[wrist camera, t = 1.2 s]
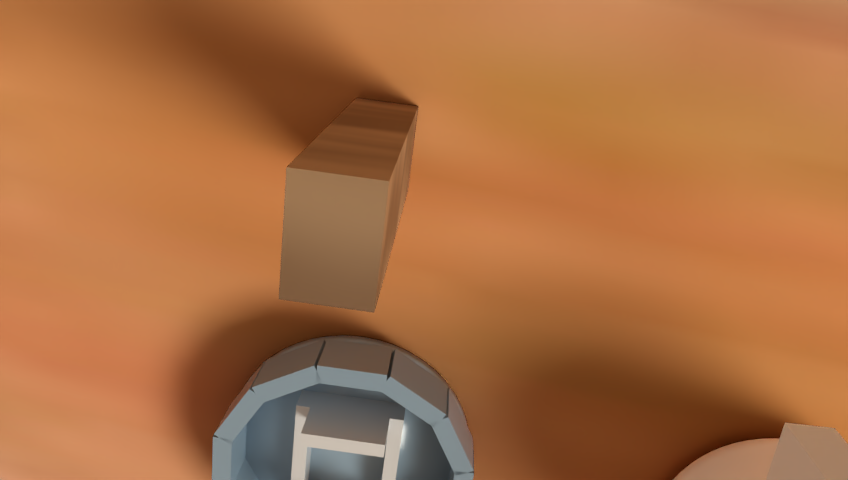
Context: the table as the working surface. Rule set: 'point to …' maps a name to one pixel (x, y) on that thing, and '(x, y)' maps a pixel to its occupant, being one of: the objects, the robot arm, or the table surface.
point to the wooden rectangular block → (346, 206)
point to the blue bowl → (344, 418)
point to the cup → (733, 462)
